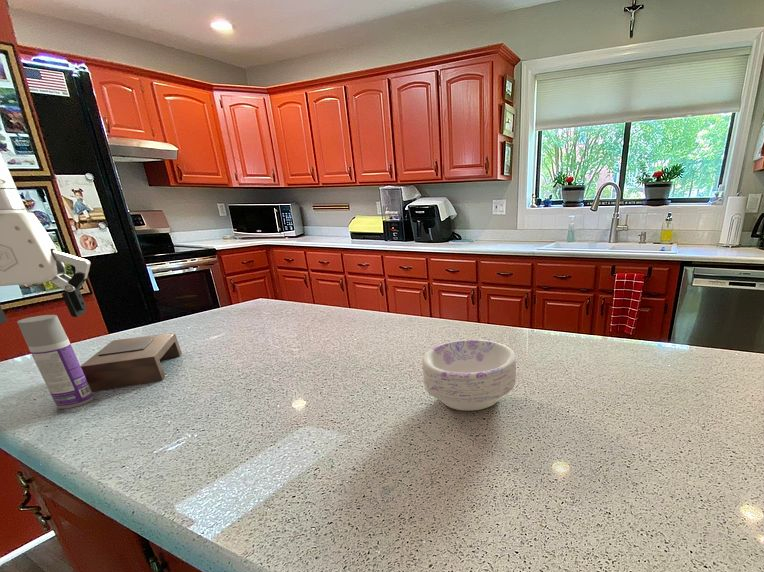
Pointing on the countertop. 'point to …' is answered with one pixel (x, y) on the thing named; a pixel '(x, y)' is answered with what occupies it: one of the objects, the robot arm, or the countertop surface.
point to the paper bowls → (469, 373)
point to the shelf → (130, 361)
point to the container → (56, 360)
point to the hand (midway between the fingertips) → (40, 319)
